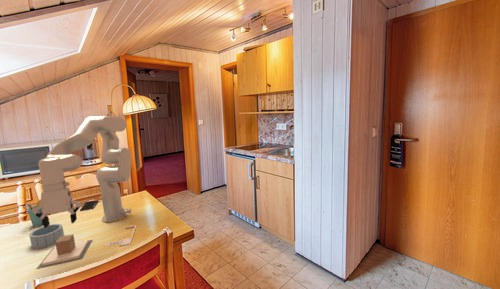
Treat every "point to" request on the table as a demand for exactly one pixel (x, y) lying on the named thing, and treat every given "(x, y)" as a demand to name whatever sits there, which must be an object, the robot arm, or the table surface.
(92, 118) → the robot arm
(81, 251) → the lid
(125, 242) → the photo frame
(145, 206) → the table surface
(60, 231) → the bowl
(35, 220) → the cup
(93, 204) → the phone
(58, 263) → the mat
